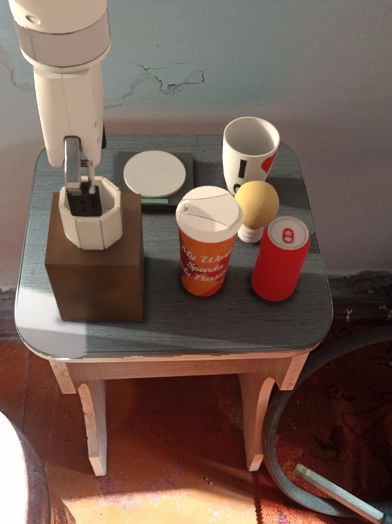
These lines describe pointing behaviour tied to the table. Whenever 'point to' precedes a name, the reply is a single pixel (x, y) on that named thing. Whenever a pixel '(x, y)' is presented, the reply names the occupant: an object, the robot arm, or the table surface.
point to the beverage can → (280, 258)
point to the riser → (98, 270)
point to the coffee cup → (207, 237)
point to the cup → (248, 151)
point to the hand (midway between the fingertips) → (89, 179)
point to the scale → (155, 177)
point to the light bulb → (256, 208)
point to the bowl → (95, 218)
